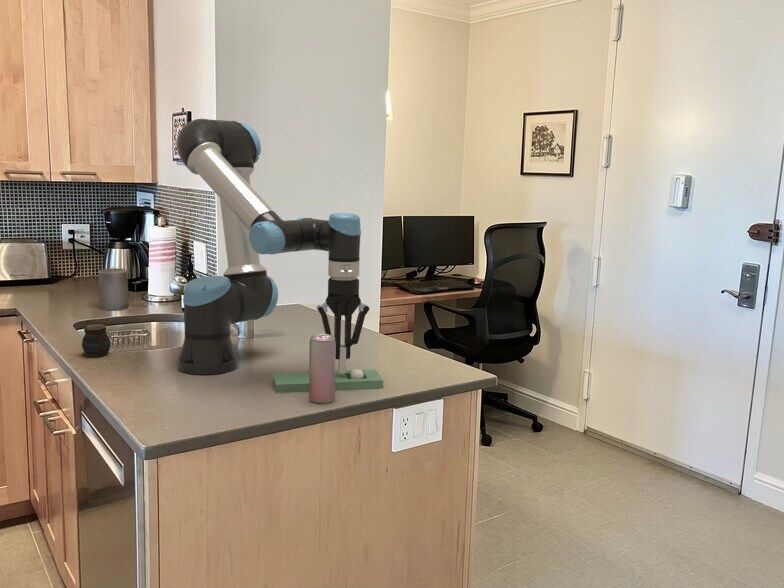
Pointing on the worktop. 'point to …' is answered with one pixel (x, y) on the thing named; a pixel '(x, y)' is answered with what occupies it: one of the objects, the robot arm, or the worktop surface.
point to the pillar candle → (113, 289)
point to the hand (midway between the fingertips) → (341, 371)
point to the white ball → (357, 374)
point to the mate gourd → (95, 340)
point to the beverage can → (322, 368)
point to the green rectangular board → (342, 381)
